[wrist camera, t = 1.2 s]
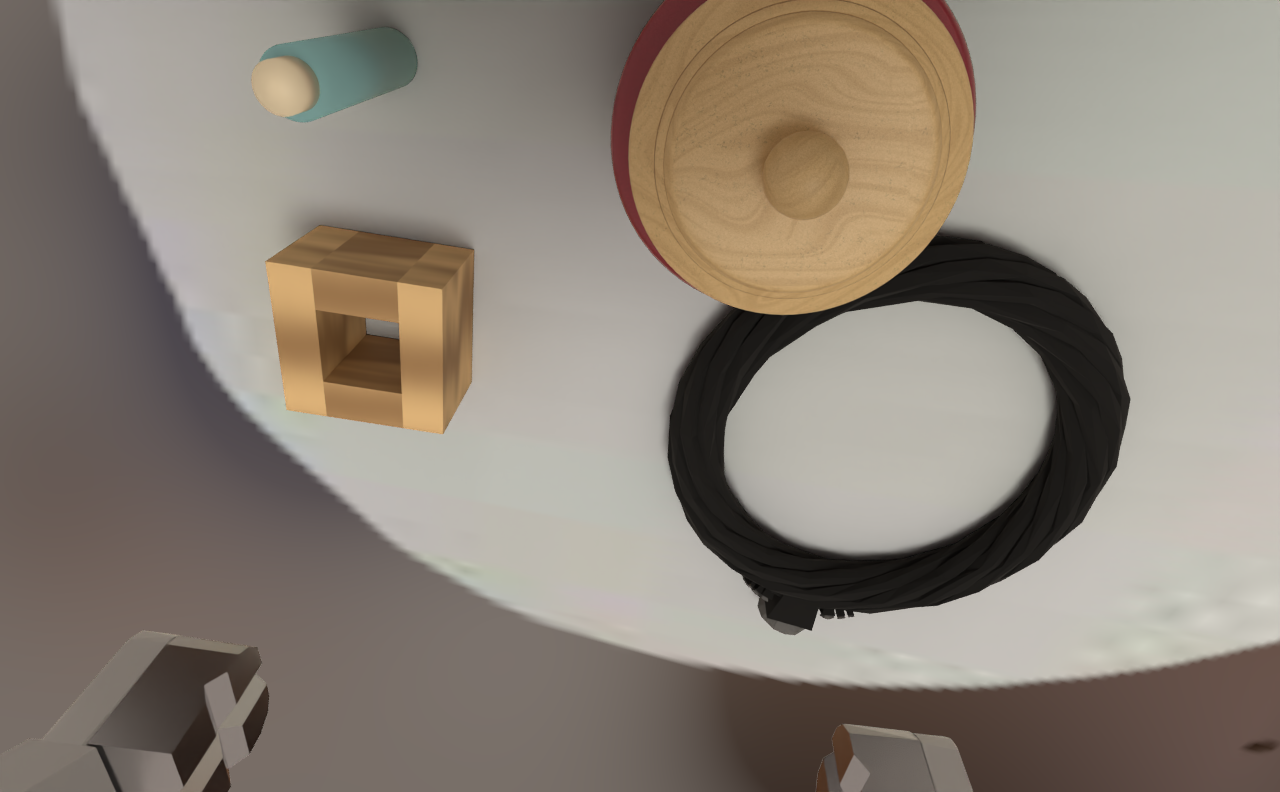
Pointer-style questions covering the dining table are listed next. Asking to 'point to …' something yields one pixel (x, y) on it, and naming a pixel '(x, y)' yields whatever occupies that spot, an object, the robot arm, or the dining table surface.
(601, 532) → the dining table surface
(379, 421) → the wooden square frame
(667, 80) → the canister
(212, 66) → the dining table surface
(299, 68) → the teal peg
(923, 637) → the dining table surface
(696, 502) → the cable lock
